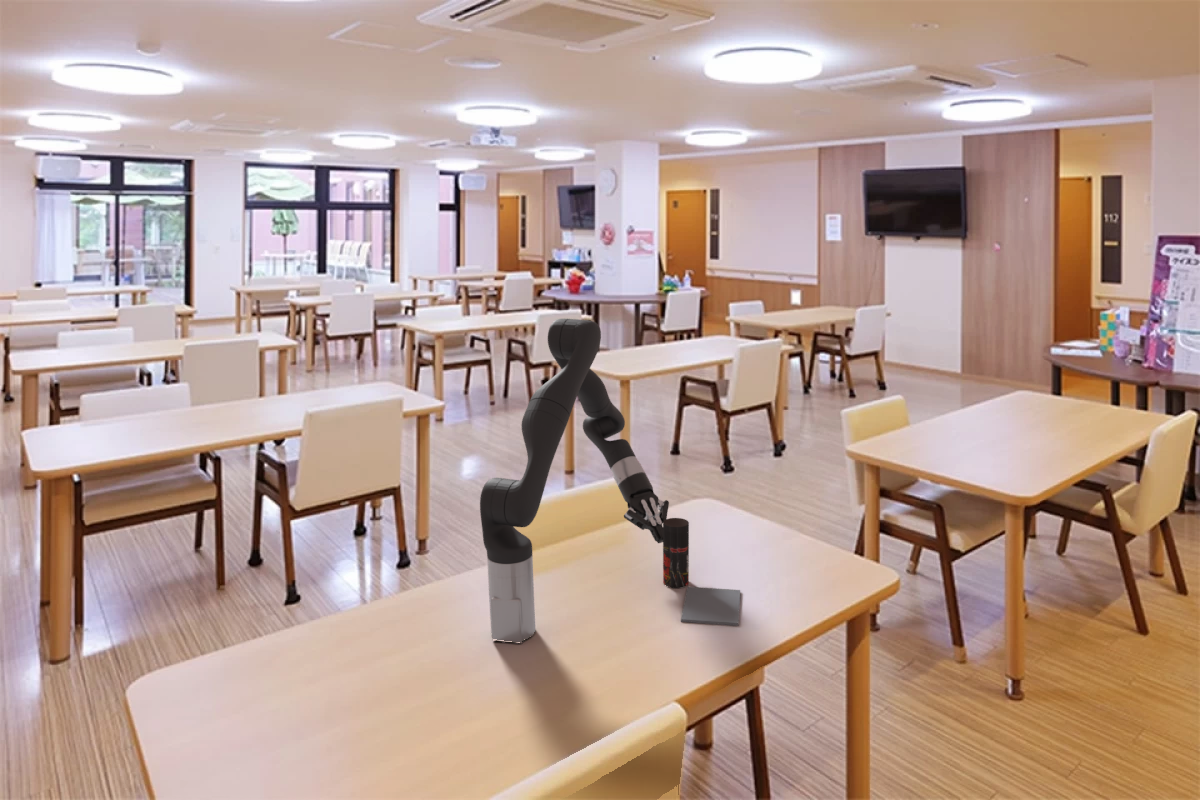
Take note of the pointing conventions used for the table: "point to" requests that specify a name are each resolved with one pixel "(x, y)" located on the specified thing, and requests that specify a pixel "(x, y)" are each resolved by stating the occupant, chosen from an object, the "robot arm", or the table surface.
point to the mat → (711, 606)
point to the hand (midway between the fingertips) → (662, 541)
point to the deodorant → (676, 552)
